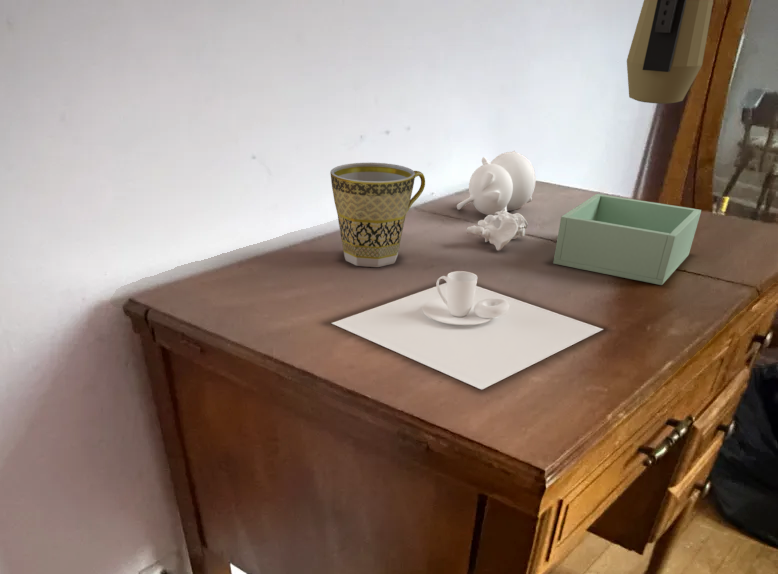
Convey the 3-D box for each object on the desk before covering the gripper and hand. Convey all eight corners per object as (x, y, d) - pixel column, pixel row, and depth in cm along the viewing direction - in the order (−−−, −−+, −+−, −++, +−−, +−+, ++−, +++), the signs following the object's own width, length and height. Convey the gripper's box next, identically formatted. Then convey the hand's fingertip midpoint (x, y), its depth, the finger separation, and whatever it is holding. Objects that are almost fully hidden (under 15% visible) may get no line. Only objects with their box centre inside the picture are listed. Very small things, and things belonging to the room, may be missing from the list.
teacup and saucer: (518, 317, 76) (523, 279, 74) (469, 338, 72) (474, 298, 69) (455, 295, 81) (458, 258, 79) (406, 313, 77) (408, 274, 74)
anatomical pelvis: (488, 202, 98) (535, 205, 96) (487, 235, 101) (533, 238, 98) (465, 215, 93) (514, 218, 90) (464, 249, 95) (512, 253, 92)
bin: (688, 255, 94) (701, 209, 91) (661, 285, 85) (675, 236, 81) (588, 237, 100) (596, 193, 96) (552, 263, 90) (561, 216, 87)
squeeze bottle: (604, 96, 83) (644, -113, 72) (664, 94, 85) (712, -109, 74) (644, 107, 78) (695, -119, 66) (707, 105, 79) (767, -115, 68)
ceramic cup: (362, 277, 85) (363, 185, 79) (316, 254, 91) (314, 168, 85) (445, 258, 91) (452, 171, 85) (397, 238, 97) (400, 156, 91)
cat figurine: (489, 149, 98) (534, 134, 105) (434, 183, 106) (479, 167, 113) (512, 212, 101) (554, 194, 108) (456, 241, 109) (499, 222, 116)
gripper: (717, -210, 73) (657, 57, 88) (664, -253, 60) (603, 72, 74) (796, -215, 70) (721, 61, 85) (761, -262, 57) (678, 79, 71)
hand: (666, 66), depth 79 cm, fingers closed on squeeze bottle, 8 cm apart
